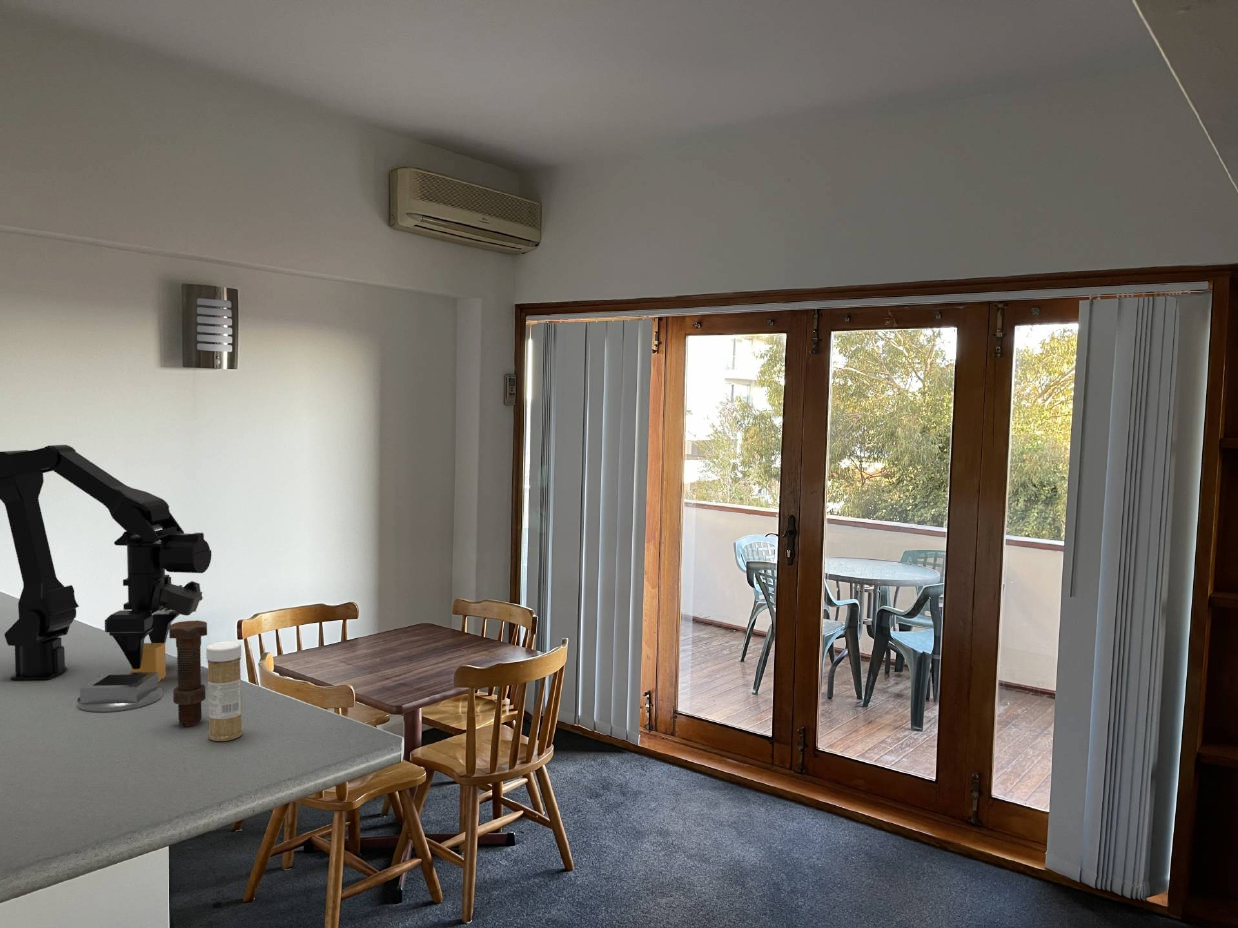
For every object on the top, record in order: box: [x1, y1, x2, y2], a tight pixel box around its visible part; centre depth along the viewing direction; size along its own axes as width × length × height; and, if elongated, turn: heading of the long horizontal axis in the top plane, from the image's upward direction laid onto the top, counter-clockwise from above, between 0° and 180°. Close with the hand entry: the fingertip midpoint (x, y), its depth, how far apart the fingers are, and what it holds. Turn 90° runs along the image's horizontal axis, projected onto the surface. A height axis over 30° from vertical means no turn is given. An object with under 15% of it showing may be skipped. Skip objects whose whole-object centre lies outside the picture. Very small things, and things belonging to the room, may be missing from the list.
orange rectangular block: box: [131, 642, 167, 682], centre depth 159 cm, size 4×4×6 cm
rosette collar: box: [76, 671, 163, 713], centre depth 148 cm, size 12×12×3 cm
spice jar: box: [206, 640, 243, 742], centre depth 132 cm, size 5×5×14 cm
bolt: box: [168, 620, 208, 728], centre depth 137 cm, size 6×5×15 cm
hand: (148, 661), depth 159 cm, fingers open, 9 cm apart
